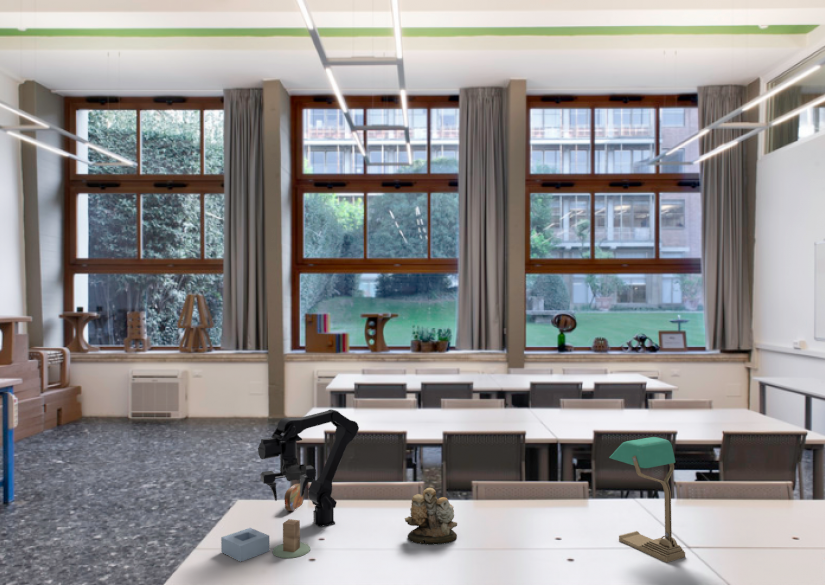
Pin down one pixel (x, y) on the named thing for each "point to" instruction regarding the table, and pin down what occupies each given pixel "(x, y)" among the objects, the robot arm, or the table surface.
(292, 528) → the walnut peg
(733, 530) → the table surface
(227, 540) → the slate-blue holder
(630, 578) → the table surface
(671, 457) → the banker's lamp
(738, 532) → the table surface
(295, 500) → the tin
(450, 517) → the owl figurine
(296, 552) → the sage-green mat
